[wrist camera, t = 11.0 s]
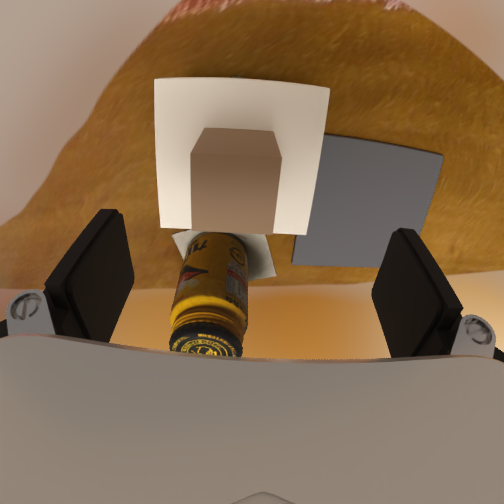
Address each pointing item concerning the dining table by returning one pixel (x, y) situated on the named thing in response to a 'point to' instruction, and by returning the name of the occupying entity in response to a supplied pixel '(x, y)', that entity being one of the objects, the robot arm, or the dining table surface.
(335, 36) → the dining table surface
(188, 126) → the lid
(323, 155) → the mat
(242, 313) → the condiment
